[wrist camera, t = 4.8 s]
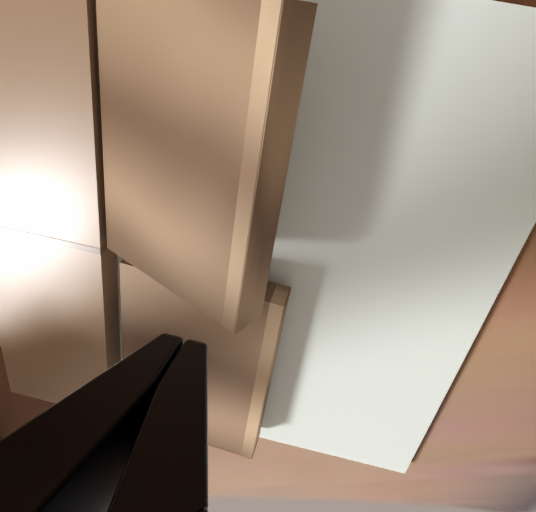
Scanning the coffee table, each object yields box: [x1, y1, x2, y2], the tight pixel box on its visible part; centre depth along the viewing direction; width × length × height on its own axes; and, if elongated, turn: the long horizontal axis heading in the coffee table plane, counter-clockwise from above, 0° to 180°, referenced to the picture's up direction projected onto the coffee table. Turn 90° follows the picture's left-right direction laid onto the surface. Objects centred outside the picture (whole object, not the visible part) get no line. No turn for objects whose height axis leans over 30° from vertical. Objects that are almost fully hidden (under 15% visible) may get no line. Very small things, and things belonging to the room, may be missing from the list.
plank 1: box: [96, 0, 318, 334], centre depth 15 cm, size 10×8×2 cm
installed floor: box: [0, 0, 536, 473], centre depth 20 cm, size 23×23×2 cm
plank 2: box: [120, 259, 291, 459], centre depth 22 cm, size 10×8×2 cm
